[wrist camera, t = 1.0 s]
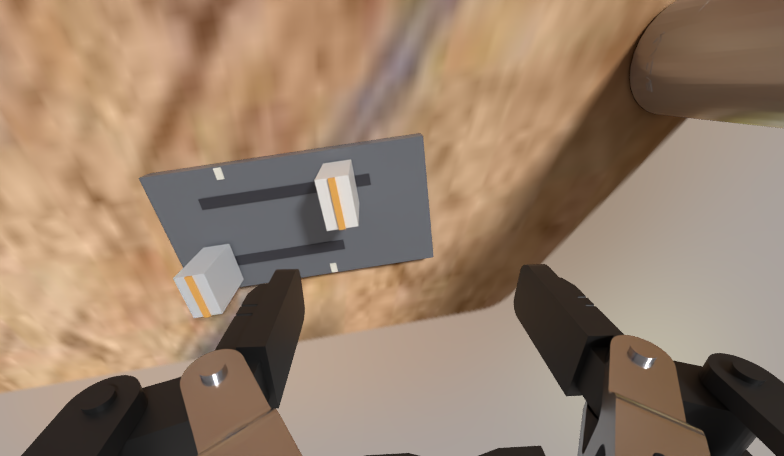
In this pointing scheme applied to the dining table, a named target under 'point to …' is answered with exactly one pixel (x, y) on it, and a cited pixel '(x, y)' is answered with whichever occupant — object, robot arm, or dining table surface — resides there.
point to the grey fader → (209, 281)
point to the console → (299, 209)
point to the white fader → (338, 195)
